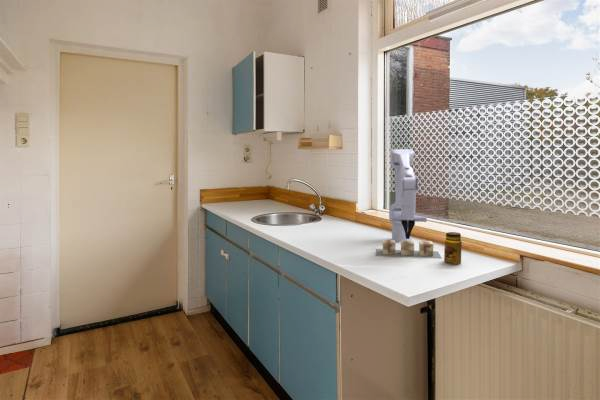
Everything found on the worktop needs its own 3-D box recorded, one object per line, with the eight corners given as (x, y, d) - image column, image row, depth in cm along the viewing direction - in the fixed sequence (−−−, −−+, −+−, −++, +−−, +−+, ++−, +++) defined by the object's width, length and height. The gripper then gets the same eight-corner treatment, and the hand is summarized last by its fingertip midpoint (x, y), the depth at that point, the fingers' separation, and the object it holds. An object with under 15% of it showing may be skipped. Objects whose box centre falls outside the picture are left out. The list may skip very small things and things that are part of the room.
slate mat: (437, 252, 164) (437, 251, 164) (441, 259, 154) (442, 258, 153) (375, 250, 169) (375, 249, 169) (375, 257, 159) (375, 255, 159)
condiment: (442, 265, 146) (443, 234, 145) (443, 259, 154) (444, 230, 153) (462, 267, 143) (464, 235, 142) (463, 261, 151) (464, 231, 150)
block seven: (431, 253, 162) (431, 241, 161) (433, 256, 157) (433, 244, 156) (419, 252, 163) (419, 240, 162) (420, 255, 158) (420, 243, 157)
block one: (394, 251, 165) (394, 239, 164) (395, 254, 160) (395, 242, 159) (382, 251, 166) (382, 239, 165) (382, 254, 161) (383, 242, 160)
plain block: (412, 252, 163) (413, 240, 163) (413, 255, 158) (414, 243, 158) (400, 251, 164) (400, 240, 164) (401, 254, 159) (401, 243, 159)
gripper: (390, 207, 156) (389, 240, 158) (427, 207, 154) (426, 241, 155) (390, 204, 163) (389, 236, 165) (425, 205, 160) (424, 237, 162)
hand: (407, 238), depth 161 cm, fingers closed
